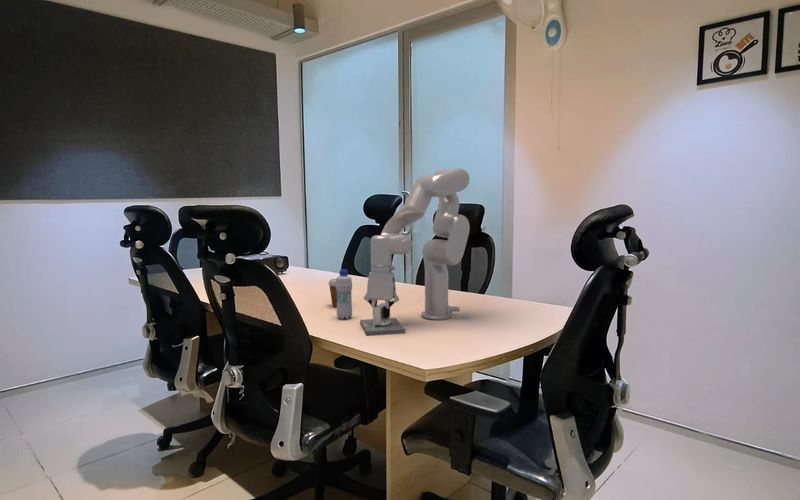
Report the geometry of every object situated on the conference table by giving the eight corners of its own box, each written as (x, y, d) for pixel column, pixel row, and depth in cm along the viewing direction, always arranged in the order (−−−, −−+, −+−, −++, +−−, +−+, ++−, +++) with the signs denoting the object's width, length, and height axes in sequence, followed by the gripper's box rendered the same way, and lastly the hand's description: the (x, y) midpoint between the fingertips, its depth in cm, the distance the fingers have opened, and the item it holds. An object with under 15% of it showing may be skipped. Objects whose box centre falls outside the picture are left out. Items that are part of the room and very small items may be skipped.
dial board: (395, 321, 189) (395, 317, 189) (405, 333, 172) (405, 328, 172) (360, 323, 186) (360, 319, 186) (366, 335, 169) (366, 331, 169)
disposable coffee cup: (348, 308, 211) (348, 281, 210) (327, 308, 211) (326, 282, 210) (351, 304, 221) (350, 278, 219) (330, 304, 221) (330, 278, 219)
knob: (394, 322, 181) (394, 303, 180) (382, 329, 172) (382, 309, 171) (378, 320, 184) (377, 302, 183) (365, 327, 174) (364, 308, 174)
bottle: (349, 320, 191) (349, 270, 188) (333, 319, 192) (332, 270, 190) (354, 316, 197) (354, 268, 195) (339, 315, 198) (338, 267, 196)
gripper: (405, 268, 178) (405, 317, 180) (363, 266, 183) (364, 314, 184) (399, 271, 171) (399, 321, 173) (356, 269, 175) (356, 318, 177)
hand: (381, 317), depth 178 cm, fingers open, 3 cm apart
